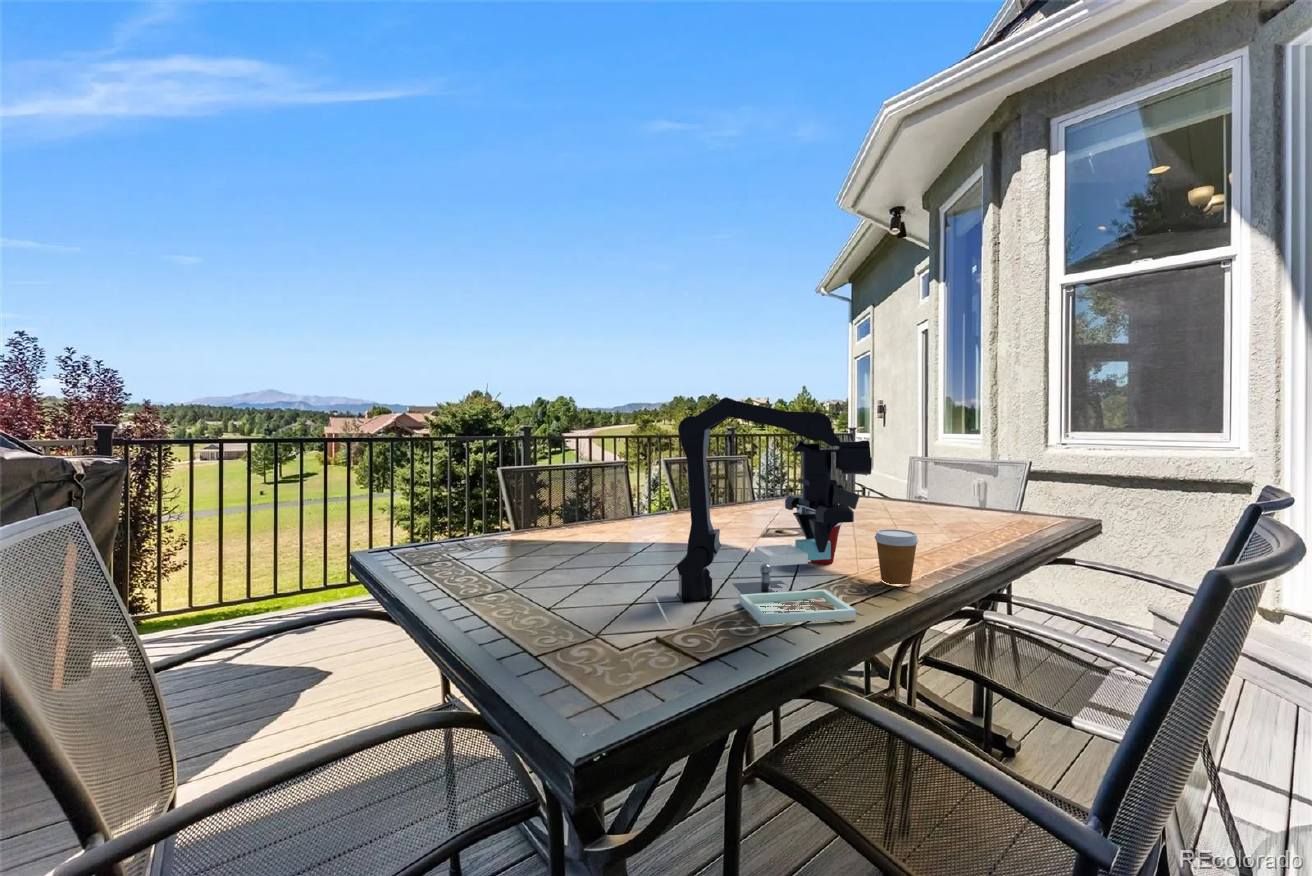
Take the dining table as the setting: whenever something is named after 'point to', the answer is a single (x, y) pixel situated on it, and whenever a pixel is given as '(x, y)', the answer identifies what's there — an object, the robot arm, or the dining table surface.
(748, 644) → the dining table surface
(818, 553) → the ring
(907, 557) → the disposable coffee cup
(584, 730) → the dining table surface
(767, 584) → the peg stand
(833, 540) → the plastic cup
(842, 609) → the tray
